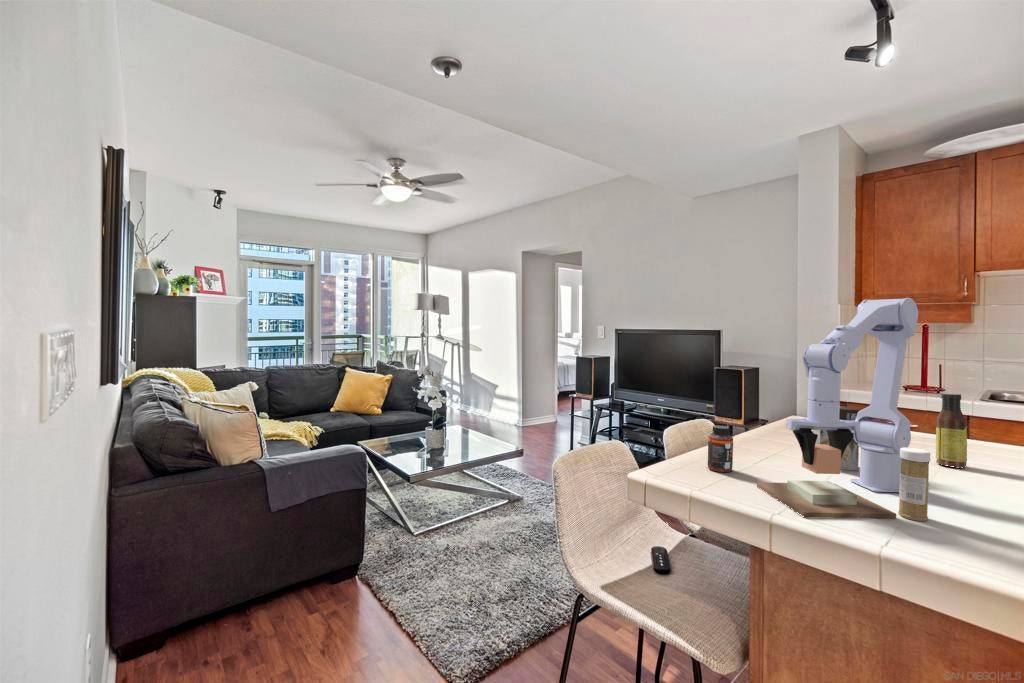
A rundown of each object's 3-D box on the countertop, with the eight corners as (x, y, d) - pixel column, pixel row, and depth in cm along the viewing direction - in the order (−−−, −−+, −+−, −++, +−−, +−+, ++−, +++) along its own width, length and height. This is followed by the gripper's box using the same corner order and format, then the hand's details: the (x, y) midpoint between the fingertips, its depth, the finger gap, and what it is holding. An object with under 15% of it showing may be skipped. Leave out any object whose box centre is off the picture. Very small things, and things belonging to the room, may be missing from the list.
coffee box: (849, 464, 131) (851, 406, 130) (858, 471, 124) (861, 410, 124) (811, 461, 133) (813, 404, 133) (818, 467, 127) (820, 407, 127)
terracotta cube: (824, 467, 104) (825, 444, 104) (840, 474, 99) (841, 450, 99) (801, 466, 104) (802, 444, 104) (816, 473, 100) (817, 449, 99)
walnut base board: (834, 487, 111) (834, 475, 111) (896, 518, 93) (896, 503, 93) (756, 486, 111) (757, 473, 111) (803, 517, 93) (804, 502, 93)
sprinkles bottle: (931, 518, 93) (933, 450, 93) (923, 523, 91) (926, 453, 90) (902, 511, 97) (904, 445, 97) (893, 515, 94) (896, 448, 94)
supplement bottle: (735, 474, 121) (736, 429, 120) (710, 472, 122) (711, 428, 121) (729, 467, 126) (730, 424, 126) (705, 465, 128) (706, 423, 127)
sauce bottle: (973, 469, 127) (976, 395, 127) (949, 469, 127) (952, 395, 127) (950, 462, 134) (953, 392, 133) (928, 462, 134) (931, 391, 133)
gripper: (844, 397, 105) (842, 458, 106) (779, 396, 105) (777, 457, 106) (868, 403, 98) (866, 468, 99) (797, 401, 98) (795, 467, 99)
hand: (821, 463), depth 102 cm, fingers closed on terracotta cube, 5 cm apart
